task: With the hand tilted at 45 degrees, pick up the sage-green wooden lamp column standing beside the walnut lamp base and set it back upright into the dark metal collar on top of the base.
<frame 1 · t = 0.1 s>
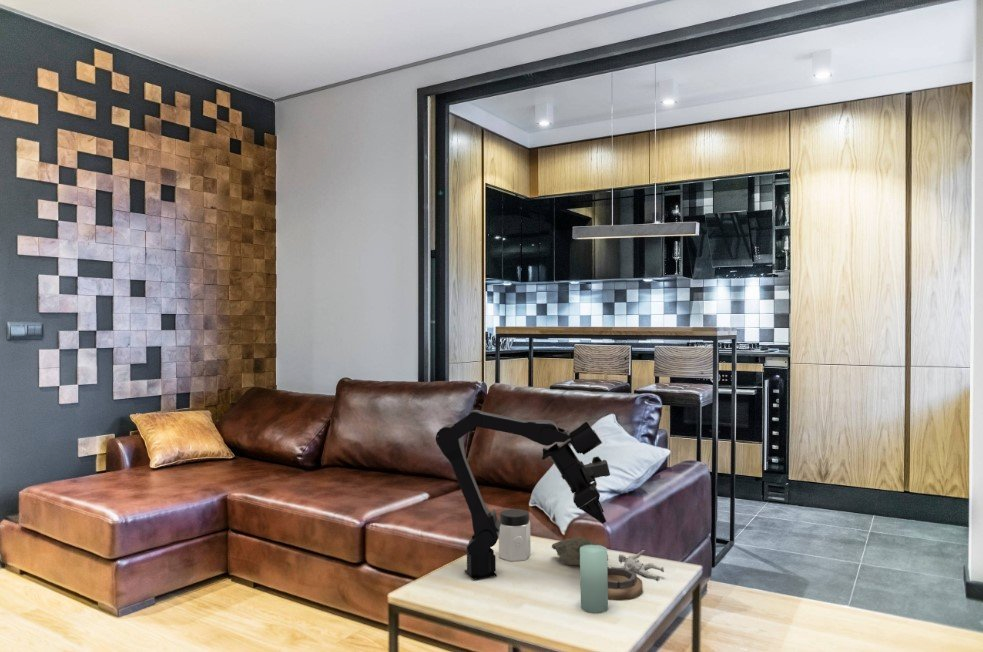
hand: (603, 517, 167), 15 cm above the table, fingers open, 9 cm apart
jar: (514, 557, 183), on the table
lamp base: (614, 589, 158), on the table
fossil: (578, 563, 177), on the table
lamp column: (594, 607, 148), on the table
soldier figure: (640, 575, 169), on the table
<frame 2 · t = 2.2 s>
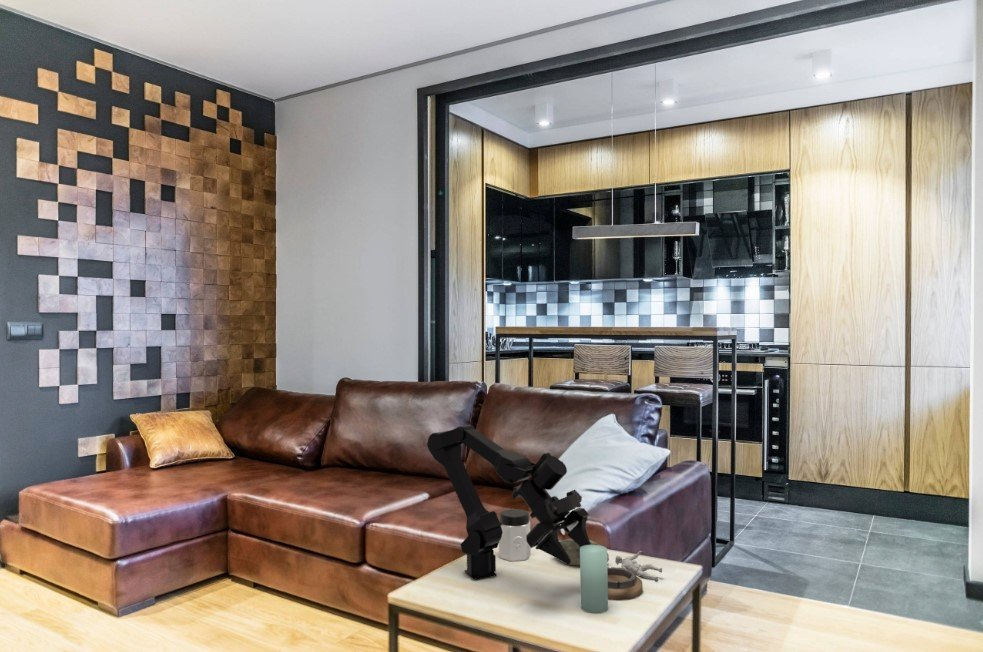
hand: (580, 557, 150), 10 cm above the table, fingers open, 9 cm apart
soldier figure: (638, 576, 168), on the table
everything else where it was.
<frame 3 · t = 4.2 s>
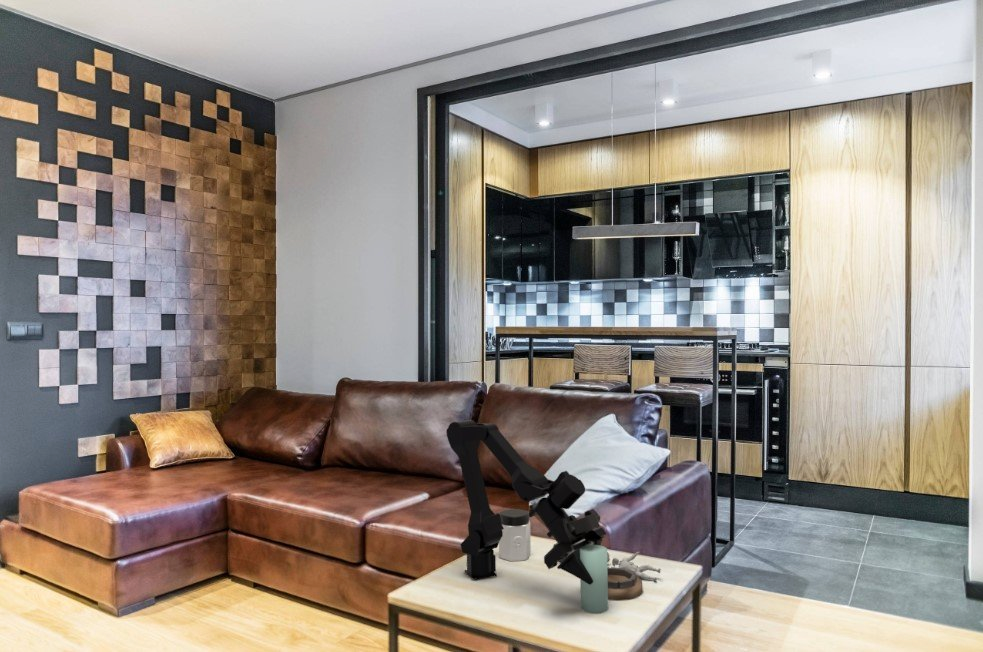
hand: (599, 579, 147), 7 cm above the table, fingers closed on lamp column, 6 cm apart
lamp column: (594, 607, 148), on the table, touching gripper
soldier figure: (636, 577, 167), on the table
everything else where it was.
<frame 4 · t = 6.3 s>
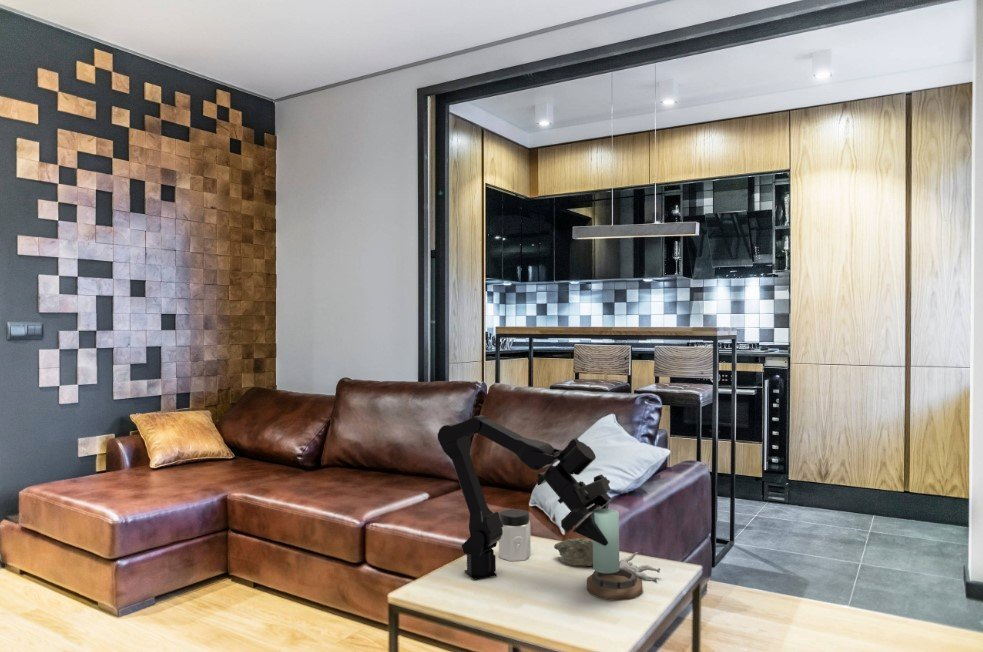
hand: (611, 540, 152), 13 cm above the table, fingers closed on lamp column, 6 cm apart
lamp column: (606, 568, 153), point 7 cm above the table, touching gripper
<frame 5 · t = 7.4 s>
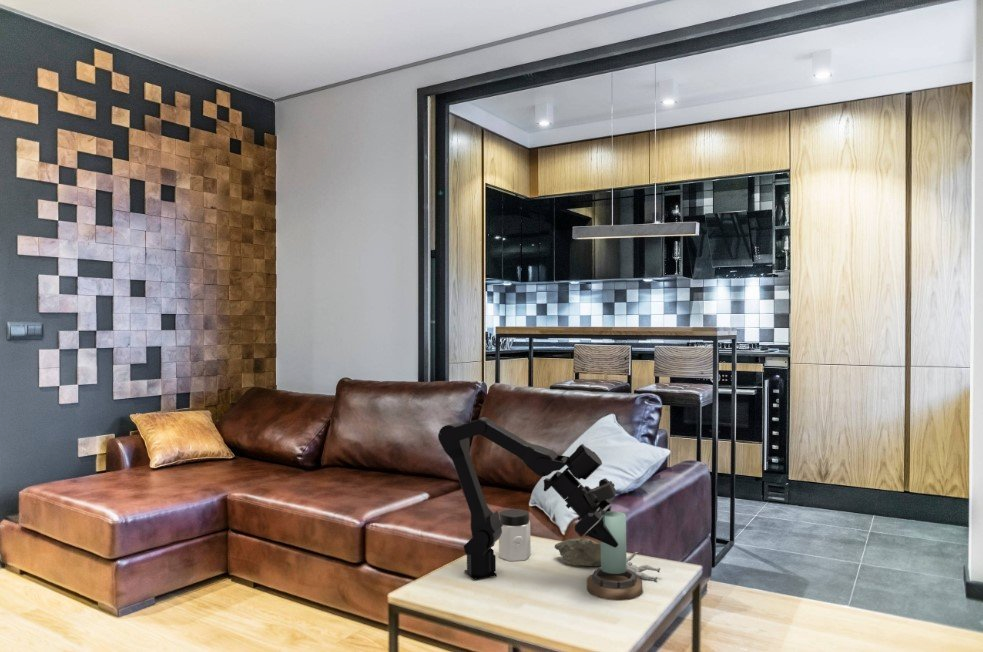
hand: (619, 542, 158), 11 cm above the table, fingers closed on lamp column, 6 cm apart
lamp column: (613, 569, 158), point 5 cm above the table, touching gripper
everything else where it was.
when the fingers open (9 cm above the table, at t = 8.2 s): lamp column stays where it is, resting on lamp base.
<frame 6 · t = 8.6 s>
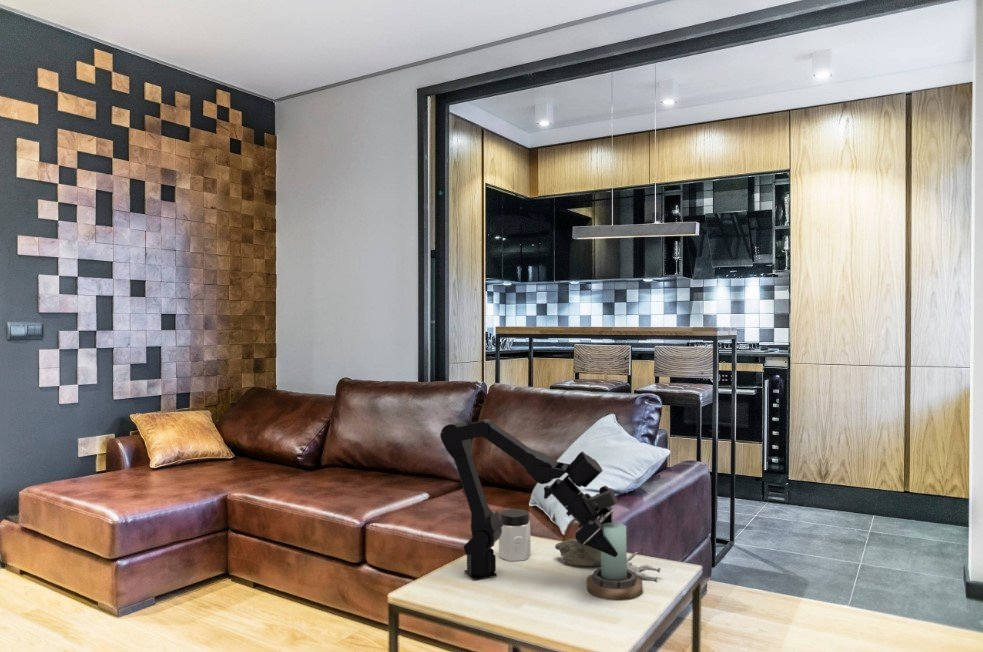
hand: (619, 549, 158), 10 cm above the table, fingers open, 9 cm apart
lamp column: (614, 580, 158), point 2 cm above the table, touching lamp base
everything else where it was.
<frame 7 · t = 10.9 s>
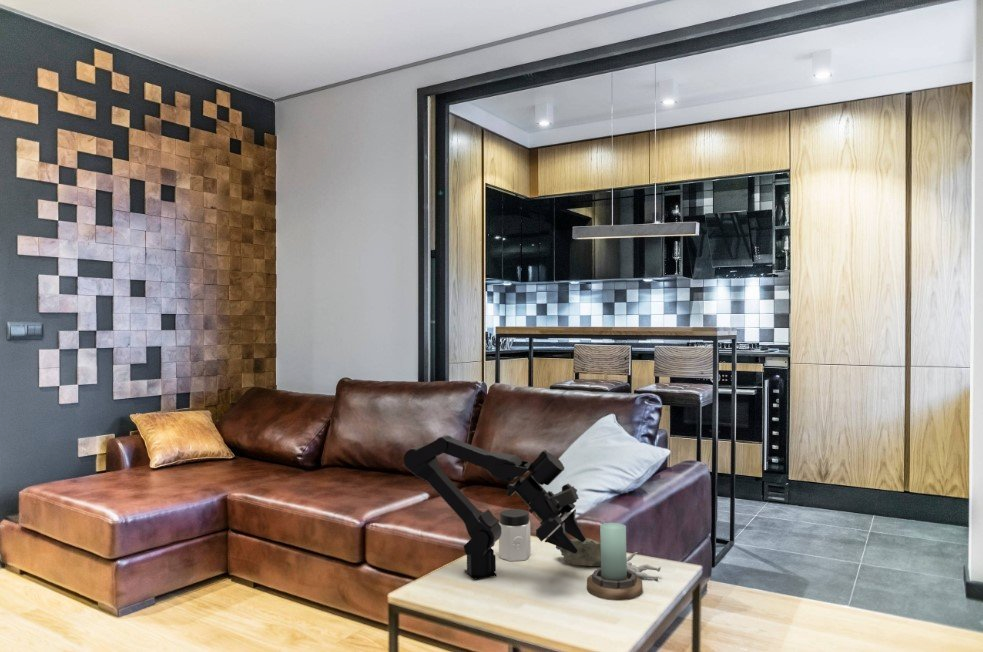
hand: (580, 546, 161), 9 cm above the table, fingers open, 9 cm apart
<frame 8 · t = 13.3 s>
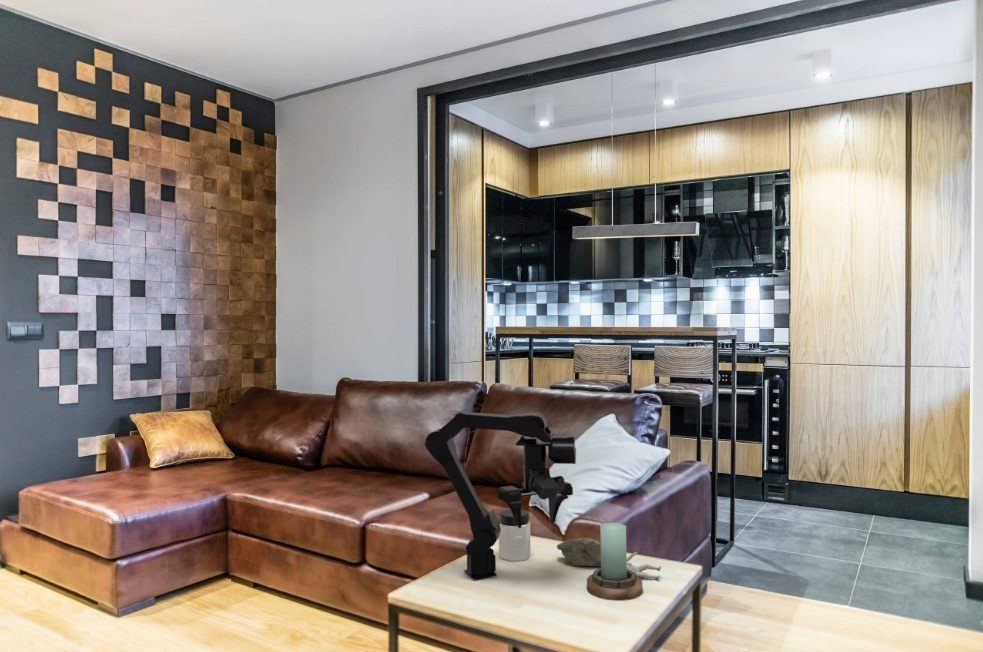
hand: (536, 525, 167), 13 cm above the table, fingers open, 9 cm apart
at the end: lamp column 0.1 cm off-centre on the lamp base, point 2.0 cm above the lamp base's base; lamp column tilted 0°; the gripper is holding nothing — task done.
